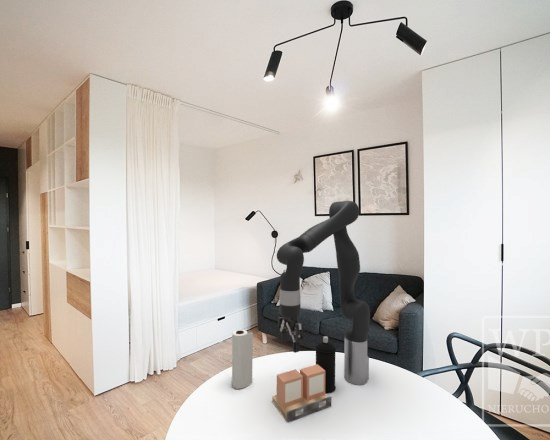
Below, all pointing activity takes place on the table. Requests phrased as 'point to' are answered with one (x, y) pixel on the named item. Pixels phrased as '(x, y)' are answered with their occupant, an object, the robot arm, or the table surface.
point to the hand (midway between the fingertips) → (289, 346)
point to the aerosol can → (327, 362)
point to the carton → (289, 388)
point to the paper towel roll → (242, 358)
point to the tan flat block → (302, 407)
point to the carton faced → (313, 382)
